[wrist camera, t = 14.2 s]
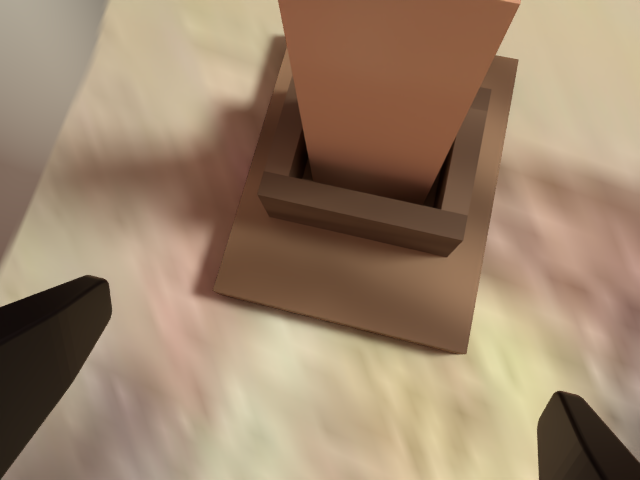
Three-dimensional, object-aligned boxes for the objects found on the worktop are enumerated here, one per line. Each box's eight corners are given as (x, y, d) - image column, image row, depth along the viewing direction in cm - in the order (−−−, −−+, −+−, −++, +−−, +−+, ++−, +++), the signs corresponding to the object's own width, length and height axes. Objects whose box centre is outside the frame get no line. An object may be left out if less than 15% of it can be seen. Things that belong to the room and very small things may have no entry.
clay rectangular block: (422, 206, 21) (520, 4, 9) (313, 181, 22) (270, -40, 10) (432, 157, 22) (538, -95, 10) (326, 134, 22) (301, -131, 10)
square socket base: (459, 354, 21) (486, 353, 17) (219, 294, 22) (191, 279, 18) (510, 74, 24) (543, 15, 20) (297, 34, 25) (287, -28, 21)
